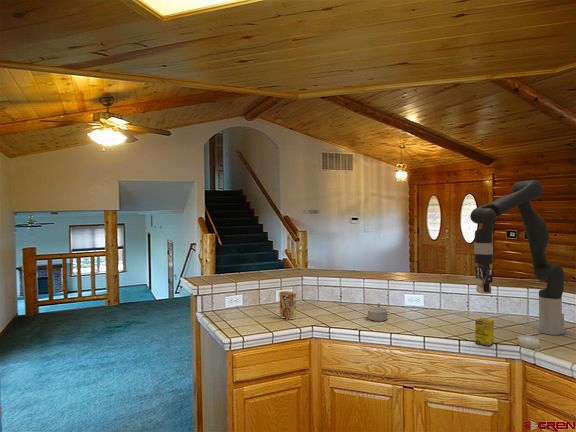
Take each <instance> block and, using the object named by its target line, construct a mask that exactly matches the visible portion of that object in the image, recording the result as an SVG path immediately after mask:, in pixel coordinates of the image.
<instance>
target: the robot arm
mask: <svg viewBox="0 0 576 432" xmlns="http://www.w3.org/2000/svg"><path fill="white" fill-rule="evenodd" d="M543 189H544V188H543V185H542V183H541V182H540V181H539V180H535V179H531V180H523V181H517V182H515V183H514V184H513V186H512V193H509V194H506V195H504V196H500V197H499V198H496V199H495V200H493V201H492V202H490V203H487V204H484V205H480V206H478V207H476V208H474V209H473V210H472V211H471V213H470V216H469V217H470V218H469V219H470V220H471V222H473V223H474V224H477V225H482V226H481V228H478V229H476V230H475V231H474V246H473V248H474V250H473V253H474V254H473V255H474V256H473V257H474V258H473V261H474V264H477V265H475V266H474V272H475V279H476V278H483V282H484V292H489V284H490V283H491V284H493V281H494V279H493V277H494V270H493V269H491V266H490V265H492V264H494V245H493V231H494V228H495V225H496V222H497V217H500V216H503V214H505V213H507V212H509V211H510V210H513V209H514V208H516V207H517V209H518V211H519V213H520V217H521V221H522V223H523V227H524V231H525V236H526V238H527V242H528V245H529V249H530V250H529V251H530V254H531V258H532V259H531V260H532V266H533V267H532V268H533V274H534V276H535V278H536V280H538V281H540V282H543V283H546V287H545V288H543V289H539V290H538V330H539V332H540V333H542V334H544V335H545V334H546V335H551V336H561V335H565V314H564V313H563V297H562V296H563V293H564V291H565V289H564V287H565V273H564V272H565V271H564V269H563V267H562V266H561V265H558V264H553V263H549V261H548V260H547V255H546V250H547V248H548V245H549V242H550V238H551V237H550V233H549V228H548V226H547V225H548V224H547V223H546V221H545V220H544V219H543V218H542V217H541V215H539V214H538V213H537V212H536V210H535V209H534V207H532V203H531V201H532V200H536V199H538V198H540V197H541V196H542V194H543ZM485 278H486V279H485Z"/></svg>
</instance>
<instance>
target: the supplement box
mask: <svg viewBox="0 0 576 432" xmlns="http://www.w3.org/2000/svg"><path fill="white" fill-rule="evenodd" d="M494 323H495V322H494V319H490V318H484V317H478V318H476V319H475V323H474V324H475V325H474V328H475V329H474V330H475V331H474V333H475V345H480V346H485V347H488V348H490V347H491V346H492V345H494V343H495V342H494V341H495V339H494V338H495V337H494V332H495V331H494V329H495V328H494V327H495V326H494Z"/></svg>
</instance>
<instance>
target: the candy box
mask: <svg viewBox="0 0 576 432" xmlns="http://www.w3.org/2000/svg"><path fill="white" fill-rule="evenodd" d="M297 313H298V312H297V291H289V290H288V291H287V290H281V291H279V318H280V317H285V318H295V317H297Z"/></svg>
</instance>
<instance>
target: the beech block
mask: <svg viewBox="0 0 576 432" xmlns="http://www.w3.org/2000/svg"><path fill="white" fill-rule="evenodd" d="M475 279H476V280H475V281H476V282H475V283H476V292H477V293H478V294H480V295H484V294H487V295H488V294H489V295H490V294H492V283H490V284H489V292H484V282H483V278H476V277H475ZM485 279H486V278H485Z"/></svg>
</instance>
